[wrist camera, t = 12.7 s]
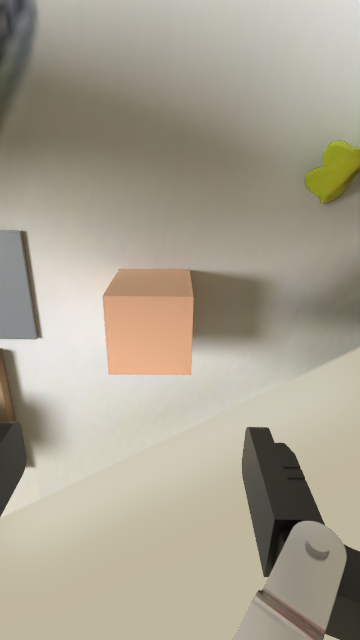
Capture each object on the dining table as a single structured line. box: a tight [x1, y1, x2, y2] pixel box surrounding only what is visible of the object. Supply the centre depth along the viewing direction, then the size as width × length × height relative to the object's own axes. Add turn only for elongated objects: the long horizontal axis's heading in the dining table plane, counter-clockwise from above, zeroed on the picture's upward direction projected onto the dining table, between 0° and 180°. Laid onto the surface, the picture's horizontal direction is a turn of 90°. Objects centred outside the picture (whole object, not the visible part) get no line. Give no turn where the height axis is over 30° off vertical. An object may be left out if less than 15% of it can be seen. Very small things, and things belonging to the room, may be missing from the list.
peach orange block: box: [103, 269, 194, 375], centre depth 23 cm, size 5×5×6 cm
